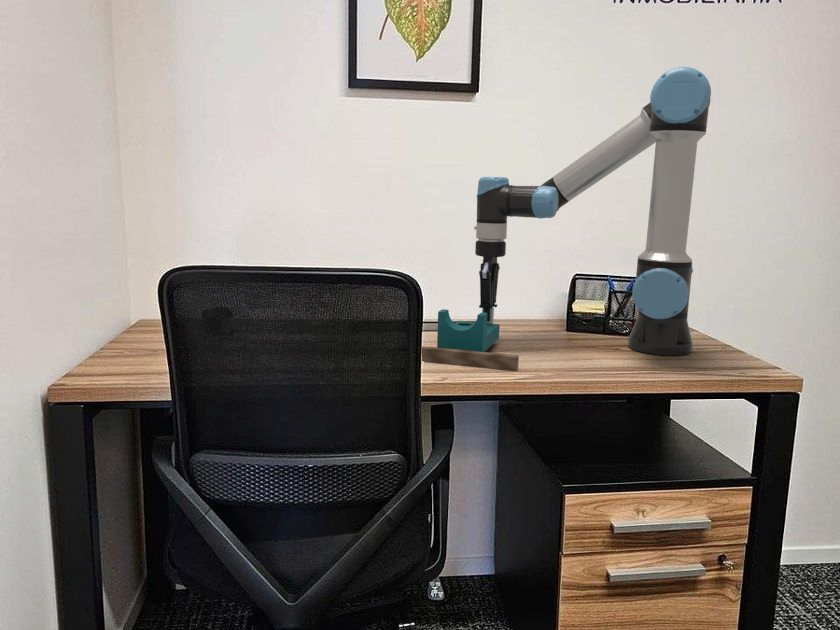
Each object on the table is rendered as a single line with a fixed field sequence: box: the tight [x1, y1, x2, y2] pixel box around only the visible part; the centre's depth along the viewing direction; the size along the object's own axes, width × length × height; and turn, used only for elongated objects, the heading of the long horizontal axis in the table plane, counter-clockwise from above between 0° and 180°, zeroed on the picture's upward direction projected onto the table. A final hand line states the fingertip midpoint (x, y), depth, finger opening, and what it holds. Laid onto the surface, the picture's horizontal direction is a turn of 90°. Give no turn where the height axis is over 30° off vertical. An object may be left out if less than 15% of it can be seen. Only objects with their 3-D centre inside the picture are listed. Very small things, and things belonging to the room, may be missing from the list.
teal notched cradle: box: [436, 309, 501, 352], centre depth 167 cm, size 18×11×10 cm, turn 161°
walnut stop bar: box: [421, 345, 520, 372], centre depth 154 cm, size 22×2×3 cm, turn 72°
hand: (487, 332), depth 176 cm, fingers closed
